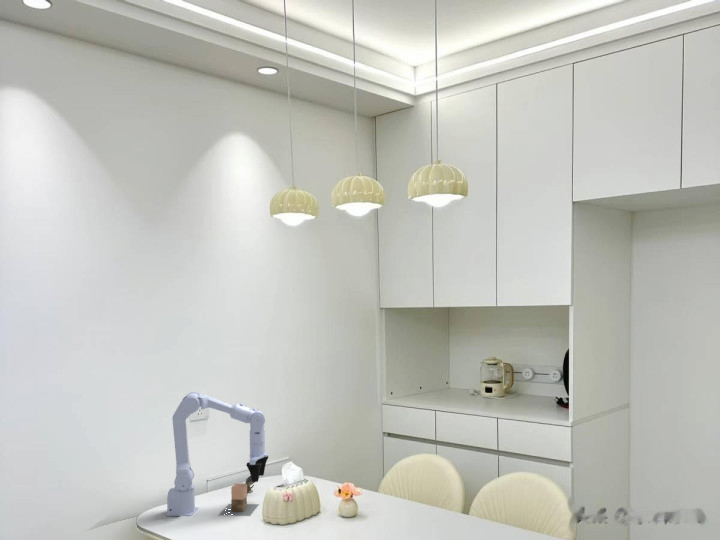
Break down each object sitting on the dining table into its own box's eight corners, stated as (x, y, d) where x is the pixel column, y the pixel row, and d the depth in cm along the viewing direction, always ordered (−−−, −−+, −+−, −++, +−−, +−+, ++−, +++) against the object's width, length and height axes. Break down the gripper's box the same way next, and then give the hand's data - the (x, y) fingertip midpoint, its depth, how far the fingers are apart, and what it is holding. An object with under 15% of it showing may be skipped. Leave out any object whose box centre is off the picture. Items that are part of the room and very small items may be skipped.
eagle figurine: (259, 492, 244) (260, 481, 253) (249, 479, 242) (250, 468, 251) (244, 503, 243) (245, 492, 252) (233, 490, 242) (235, 479, 251)
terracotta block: (231, 499, 225) (231, 487, 225) (235, 495, 230) (235, 483, 230) (243, 499, 225) (243, 487, 225) (247, 495, 229) (246, 483, 229)
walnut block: (231, 511, 225) (231, 499, 225) (235, 507, 229) (235, 495, 230) (243, 511, 225) (243, 499, 225) (246, 507, 229) (246, 495, 229)
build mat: (218, 516, 222) (218, 515, 222) (228, 504, 234) (228, 503, 234) (250, 516, 220) (250, 515, 220) (259, 505, 232) (259, 504, 232)
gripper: (262, 447, 225) (263, 484, 224) (272, 438, 239) (273, 472, 238) (243, 447, 225) (244, 484, 225) (254, 438, 240) (255, 472, 239)
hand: (258, 478), depth 232 cm, fingers open, 7 cm apart
